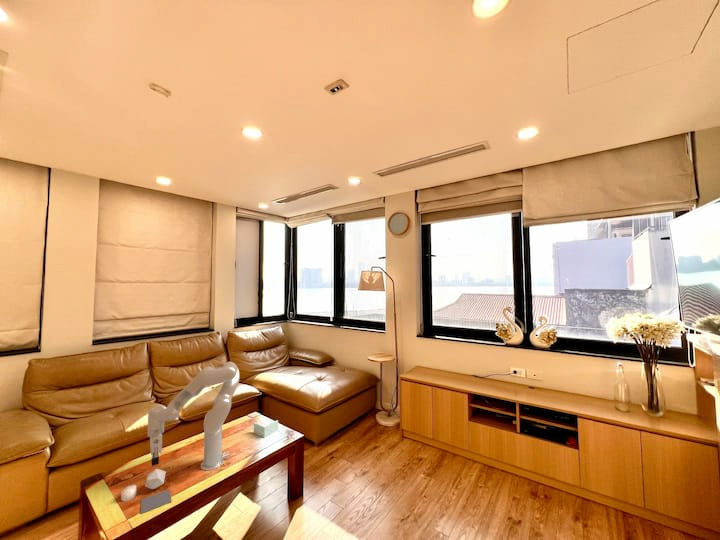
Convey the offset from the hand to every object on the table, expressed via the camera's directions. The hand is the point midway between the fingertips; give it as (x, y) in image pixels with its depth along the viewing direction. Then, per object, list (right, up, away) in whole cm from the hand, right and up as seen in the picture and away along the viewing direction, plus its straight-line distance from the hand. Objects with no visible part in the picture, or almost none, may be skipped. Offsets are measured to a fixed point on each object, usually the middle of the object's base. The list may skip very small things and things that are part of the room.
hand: (155, 464), depth 158 cm
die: (+6, -8, -8) cm, 13 cm away
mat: (+13, -7, -17) cm, 22 cm away
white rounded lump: (-3, -7, -14) cm, 16 cm away
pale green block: (+46, -10, +48) cm, 67 cm away
